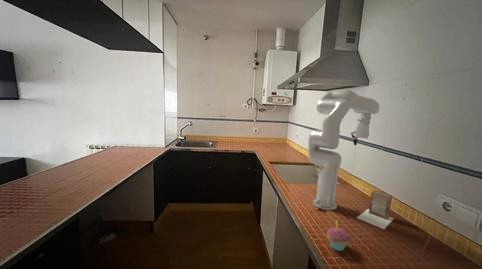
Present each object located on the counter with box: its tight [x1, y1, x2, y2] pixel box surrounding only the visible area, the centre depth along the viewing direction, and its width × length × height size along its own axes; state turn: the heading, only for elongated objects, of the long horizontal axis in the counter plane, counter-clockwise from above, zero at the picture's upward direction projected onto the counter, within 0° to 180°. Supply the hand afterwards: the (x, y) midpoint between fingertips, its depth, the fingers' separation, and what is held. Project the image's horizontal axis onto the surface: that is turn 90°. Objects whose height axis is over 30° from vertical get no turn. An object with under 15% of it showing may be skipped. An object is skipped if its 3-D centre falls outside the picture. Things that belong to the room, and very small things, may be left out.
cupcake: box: [326, 219, 351, 252], centre depth 80 cm, size 9×8×12 cm
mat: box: [356, 208, 395, 230], centre depth 104 cm, size 16×12×1 cm
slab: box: [368, 189, 393, 220], centre depth 106 cm, size 4×8×12 cm, turn 40°
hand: (363, 146), depth 139 cm, fingers open, 9 cm apart
